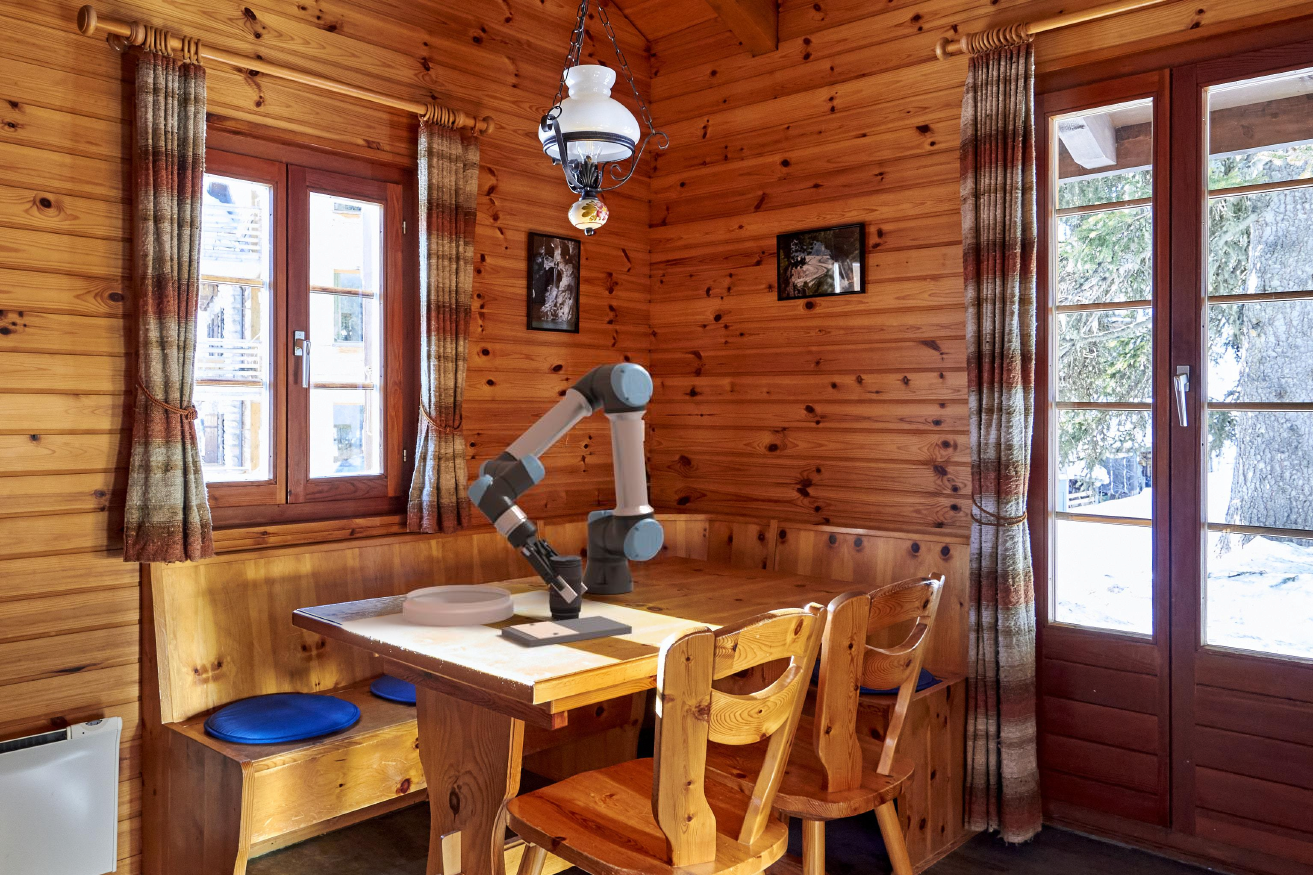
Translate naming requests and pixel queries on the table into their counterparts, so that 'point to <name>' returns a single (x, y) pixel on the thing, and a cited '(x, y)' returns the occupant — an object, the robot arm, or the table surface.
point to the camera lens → (572, 576)
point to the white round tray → (458, 605)
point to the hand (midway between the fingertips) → (578, 595)
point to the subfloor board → (565, 631)
